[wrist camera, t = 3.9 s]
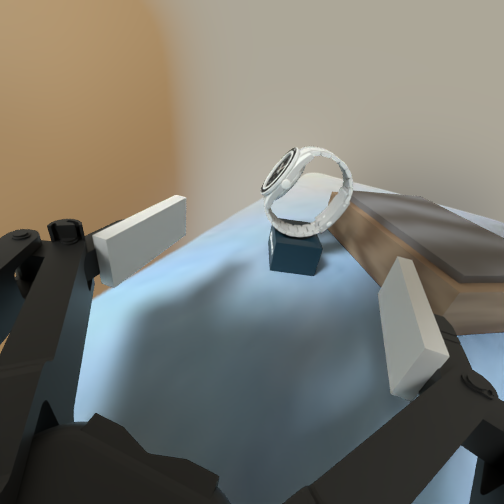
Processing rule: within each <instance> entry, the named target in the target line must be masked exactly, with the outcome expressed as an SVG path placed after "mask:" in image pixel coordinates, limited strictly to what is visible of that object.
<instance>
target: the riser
mask: <svg viewBox="0 0 504 504" xmlns="http://www.w3.org/2000/svg"><path fill="white" fill-rule="evenodd" d="M337 194H338V192H332V194H331V197H330V200H329V203H328V205H329V204H330V202H331V201H332V200H333V198H334V197H335V195H337ZM328 230H329V231H330V232H331V233H332V234H333V235H334V237H335V238H336V239H337V240H338V241H339V242H340V243H341V244H342V245H343V246H344V247H345V249H346V250H347V251H348V252H349V253H350V254H351V255H352V256H353V257H354V258H355V259H356V261H357V262H358V263H359V264H360V265H361V266H362V267H363V268H364V269H365V270H366V271H367V273H368V274H369V275H370V276H371V277H372V278H373V279H374V280H375V281H376V282H377V283H378V285H379V286H380V287H382V285H383V283H384V281H385V279H386V277H387V275H388V273H389V272H390V270H391V268H392V266H393V264H394V262H395V260H396V258H397V256H399V257H402V258H406V259H410V260H412V261H413V263H414V266H415V268H416V271H417V273H418V276H419V279H420V281H421V284H422V286H423V289H424V291H425V294H426V297H427V299H428V302H429V304H430V307H431V309H432V312H433V313H434V314H437V315H440V316H443V317H445V318H446V320H447V321H448V322H449V323H450V324H451V325H452V326H453V328H454V330H455V332H456V335H470V334H485V333H499V332H504V238H502V237H500V236H498V235H496V234H494V233H492V232H490V231H488V230H486V229H484V228H482V227H481V226H479V225H477V224H475V223H473V222H471V221H469V220H467V219H465V218H463V217H461V216H459V215H457V214H455V213H453V212H451V211H449V210H447V209H445V208H443V207H441V206H439V205H437V204H435V203H433V202H431V201H429V200H427V199H425V198H423V197H421V196H409V195H398V194H386V193H375V192H363V191H353V193H352V196H351V199H350V205H349V206H348V207H347V209H346V210H345V212H344V213H343V214H342V215H341V217H340V218H339V219H338V220H337V221H336V222H335V223H334V224H333V225H332V226H330V227H329V228H328Z"/></svg>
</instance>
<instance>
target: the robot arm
mask: <svg viewBox="0 0 504 504" xmlns="http://www.w3.org/2000/svg"><path fill="white" fill-rule="evenodd" d="M47 227H48V231H49V234H50V238H51V241H43V240H41V239H40V236H39V233H38V232H37V231H35V230H30V229H28V230H27V229H20V230H15V231H13V232H10V233H8V234H6V235H4V236H3V237H1V238H0V344H1V343H2V342H3V341H4V340H5V338H6V337H7V336H8V335H9V336H8V338H7V341H6V343H5V345H4V347H3V349H2V351H1V354H0V504H231V503H230V501H229V500H228V498H227V497H226V496H225V494H224V493H223V492H222V491H221V490H220V489H219V488H218V487H217V486H218V481H219V476H218V475H216V474H214V473H212V472H210V471H208V470H207V469H205V468H203V467H201V466H199V465H197V464H195V463H193V462H191V461H189V460H187V459H182V458H175V457H168V456H162V455H155V454H150V453H147V452H146V451H145V450H144V449H143V448H142V447H141V446H140V445H139V443H138V442H137V441H136V440H135V439H134V438H133V437H132V436H131V435H130V434H129V433H128V431H127V430H126V429H125V428H124V427H123V426H121V425H119V424H117V423H115V422H113V421H111V420H109V419H107V418H105V417H103V416H101V415H99V414H97V413H95V414H94V415H93V417H92V418H91V419H90V420H89V421H88V422H74V404H75V398H76V392H77V386H78V380H79V374H80V368H81V362H82V356H83V350H84V344H85V338H86V333H87V327H88V321H89V315H90V309H91V303H92V297H93V290H94V285H95V283H94V277H95V276H97V275H99V274H100V278H101V282H102V284H105V285H107V286H110V287H113V288H115V287H116V286H118V285H119V284H120V283H122V282H123V281H124V280H126V279H127V278H128V277H130V276H131V275H132V274H134V273H135V272H136V271H138V270H139V269H140V268H142V267H143V266H144V265H146V264H147V263H148V262H150V261H151V260H152V259H154V258H155V257H156V256H158V255H159V254H160V253H162V252H163V251H165V250H166V249H167V248H169V247H170V246H171V245H173V244H174V243H175V242H177V241H178V240H179V239H181V238H182V237H183V236H185V235H186V197H182V196H178V195H175V196H172V197H170V198H168V199H167V200H164V201H162V202H160V203H158V204H156V205H154V206H152V207H150V208H148V209H145V210H143V211H141V212H140V213H137V214H135V215H133V216H131V217H129V218H127V219H123V220H119V221H116V222H114V223H112V224H110V225H107V226H105V227H104V228H101V229H99V230H97V231H95V232H92V233H90V234H88V235H86V236H84V231H83V227H82V222H80V221H78V220H75V219H62V220H57V221H54V222H51V223H50V224H49V225H47ZM15 273H16V275H17V276H16V277H14V274H15ZM378 300H379V308H380V316H381V323H382V331H383V339H384V346H385V354H386V362H387V369H388V377H389V385H390V392H391V394H392V395H395V396H397V397H400V398H402V399H405V400H408V401H410V402H411V403H410V404H409V405H408V406H406V407H405V408H404V409H403V410H402V411H400V412H399V413H398V414H397V415H395V416H394V417H393V418H392V419H391V420H389V421H388V422H387V423H386V424H385V425H383V426H382V427H381V428H380V429H378V430H377V431H376V432H375V433H374V434H372V435H371V436H370V437H369V438H367V439H366V440H365V441H364V442H363V443H361V444H360V445H359V446H358V447H357V448H355V449H354V450H353V451H352V452H350V453H349V454H348V455H347V456H346V457H344V458H343V459H342V460H341V461H340V462H338V463H337V464H336V465H335V466H333V467H332V468H331V469H330V470H329V471H327V472H326V473H325V474H324V475H323V476H321V477H320V478H319V479H318V480H316V481H315V482H314V483H313V484H311V485H309V486H305V487H303V488H302V489H300V490H299V491H298V492H296V493H295V494H294V495H293V496H291V497H290V498H289V499H288V500H286V501H285V502H284V503H283V504H411V503H412V502H413V501H414V500H415V499H416V497H417V496H418V495H419V494H420V493H421V492H422V490H423V489H424V488H425V487H426V486H427V484H428V483H429V482H430V481H431V480H432V479H433V477H434V476H435V475H436V474H437V473H438V471H439V470H440V469H441V468H442V467H443V466H444V464H445V463H446V462H447V461H448V460H449V459H450V457H451V456H452V455H453V454H454V453H455V451H456V450H457V449H458V448H459V447H460V446H463V447H464V448H466V449H467V450H469V451H470V452H472V453H473V454H475V455H476V456H478V458H477V464H476V469H475V475H474V480H473V486H472V491H471V497H470V502H469V504H504V401H502V400H500V399H499V398H498V395H497V392H496V390H495V389H494V387H493V386H492V385H491V383H490V382H489V381H487V380H486V379H485V378H484V377H483V376H482V375H480V374H478V373H477V372H475V371H474V370H472V367H471V365H470V363H469V361H468V359H467V357H466V354H465V352H464V350H463V348H462V346H461V345H460V344H461V343H460V341H459V339H458V337H457V335H456V332H455V330H454V328H453V326H452V325H451V324H450V323H449V322H448V321H447V320H446V318H445V317H443V316H440V315H437V314H434V313H433V312H432V309H431V307H430V304H429V302H428V299H427V297H426V294H425V291H424V289H423V286H422V284H421V281H420V279H419V276H418V273H417V271H416V268H415V266H414V263H413V261H412V260H410V259H406V258H402V257H399V256H397V258H396V260H395V262H394V264H393V266H392V268H391V270H390V272H389V273H388V275H387V277H386V279H385V281H384V283H383V285H382V287H381V289H380V291H379V293H378ZM9 333H10V334H9ZM418 394H419V395H420V396H419V397H417V398H416V399H415V400H414V401H413V399H414V398H415V397H416V396H417V395H418Z"/></svg>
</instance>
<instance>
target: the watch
mask: <svg viewBox="0 0 504 504" xmlns="http://www.w3.org/2000/svg"><path fill="white" fill-rule="evenodd" d="M319 155H321V156H324V157H328V158H331V159H333V160H334V161H336V162H337V163H338V164H339V167H340V168H341V171H342V172H343V181H344V182H343V187H341V188H340V190H339V192H338V194H337V195H335V197H334V198H333V200H332V201H331V202H330V204H329V205H328V206H327V207H326V208H325V209H324V210H323V211H322V212H321V213H320V214H319V215H318V216H317V217H315V221H314V222H312V223H308V222H302V221H295V220H288V219H281V218H277V216H276V215H275V214H274V213H273V212H272V210H271V208H270V207H271V205H272V204H273V202H274V200H277V199H279V198H280V197H282V196H283V195H285V194H286V193H287V192H288V191H289V190H290V189H291V188H292V187H293V186H294V184H295V183H296V182H297V180H298V179H299V178H300V176H301V174H302V173H303V171H304V168H305V166H306V164H308V163H309V162H310V161H312V160H313V158H314V156H319ZM352 193H353V178H352V175H351V172H350V170H349V169H348V167H347V165H346V164H345V163H344V162H343V161H342V160H341V159H339V158H338V157H337V156H336V155H335V154H333V153H332V152H330V151H329V150H326V149H324V148H320V147H312V146H308V147H303V148H301V149H300V150H299V149H298V148H297V147H295V148H293V149H291V150H290V151H289V152H287V153H286V154H285V155H284V157H282V158H281V160H280V161H279V162H278V163H277V164H276V165H275V167H274V168H273V169H272V171H271V172H270V173H269V175H268V176H267V178H266V180H265V182H264V183H263V185H262V188H261V194H262V195H264V209H265V212H266V215H267V218H268V220H269V221H270V222H271V224H272V227H271V232H270V236H269V241H268V245H269V263H270V270H272V271H279V272H287V273H294V274H302V275H309V276H314V274H315V271H316V268H317V265H318V262H319V259H320V256H321V253H322V250H323V248H322V246H321V243H320V241H319V238H318V236H317V233H321V234H322V233H323V232H324V231H326V230H327V229H328V228H329V227H330V226H332V225H333V224H334V223H335V222H336V221H337V220H338V219H339V218H340V217H341V215H342V214H343V213H344V212H345V210H346V209H347V207H348V206H349V205H350V199H351V196H352Z"/></svg>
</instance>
